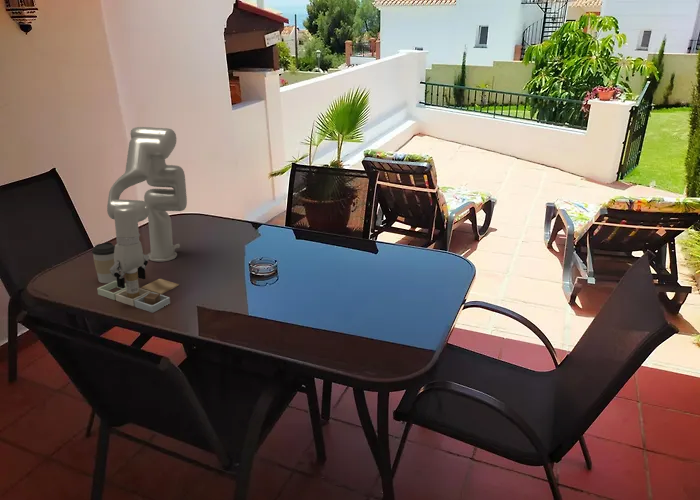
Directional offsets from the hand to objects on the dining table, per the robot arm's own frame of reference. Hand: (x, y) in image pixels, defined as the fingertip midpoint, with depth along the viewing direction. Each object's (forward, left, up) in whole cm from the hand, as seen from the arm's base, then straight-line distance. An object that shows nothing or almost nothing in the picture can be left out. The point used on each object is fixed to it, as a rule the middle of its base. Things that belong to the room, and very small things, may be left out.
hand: (131, 282), depth 192 cm
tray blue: (0, +9, -7) cm, 12 cm away
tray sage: (0, -10, -7) cm, 12 cm away
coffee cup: (-7, -22, -7) cm, 24 cm away
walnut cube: (0, +9, -7) cm, 12 cm away
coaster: (-13, 0, -7) cm, 15 cm away
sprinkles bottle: (0, 0, -7) cm, 7 cm away
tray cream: (0, 0, -7) cm, 7 cm away
